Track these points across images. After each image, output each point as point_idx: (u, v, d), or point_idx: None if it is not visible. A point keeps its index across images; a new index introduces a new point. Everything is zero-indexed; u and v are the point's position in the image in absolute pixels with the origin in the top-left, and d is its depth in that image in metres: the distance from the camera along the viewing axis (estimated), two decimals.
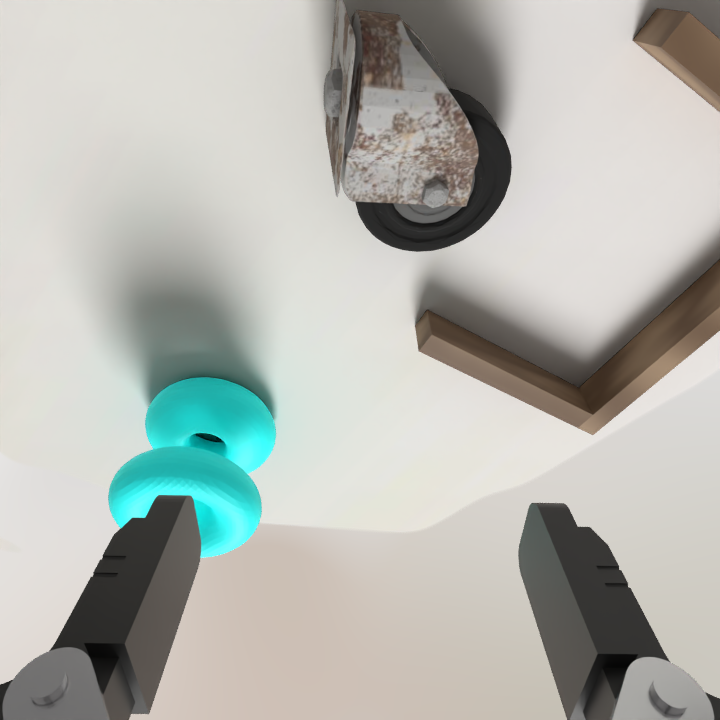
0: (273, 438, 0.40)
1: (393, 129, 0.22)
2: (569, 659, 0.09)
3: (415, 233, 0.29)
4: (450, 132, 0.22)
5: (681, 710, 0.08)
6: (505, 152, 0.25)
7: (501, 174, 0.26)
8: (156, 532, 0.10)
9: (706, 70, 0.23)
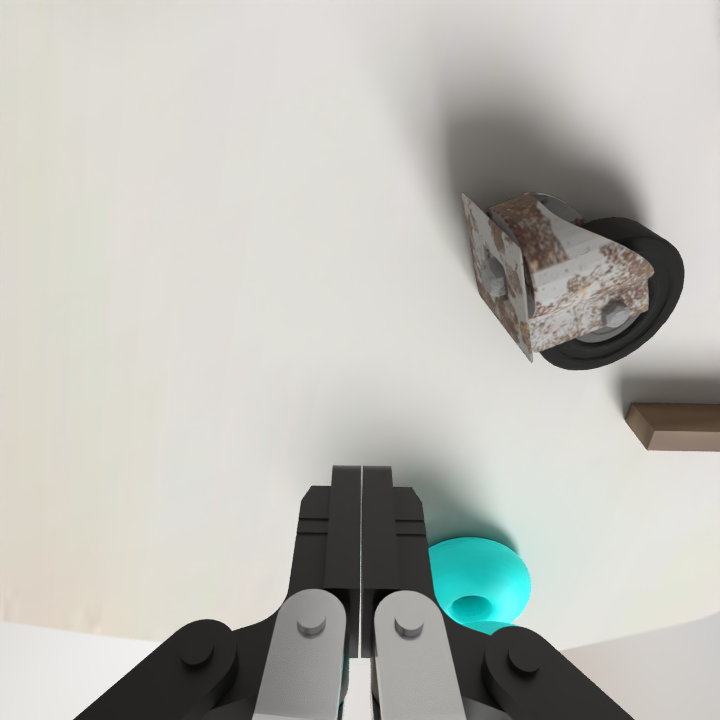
0: (528, 576, 0.39)
1: (569, 291, 0.23)
2: None
3: (602, 350, 0.28)
4: (623, 269, 0.23)
5: (413, 631, 0.08)
6: (672, 251, 0.25)
7: (674, 269, 0.26)
8: (347, 496, 0.11)
9: None
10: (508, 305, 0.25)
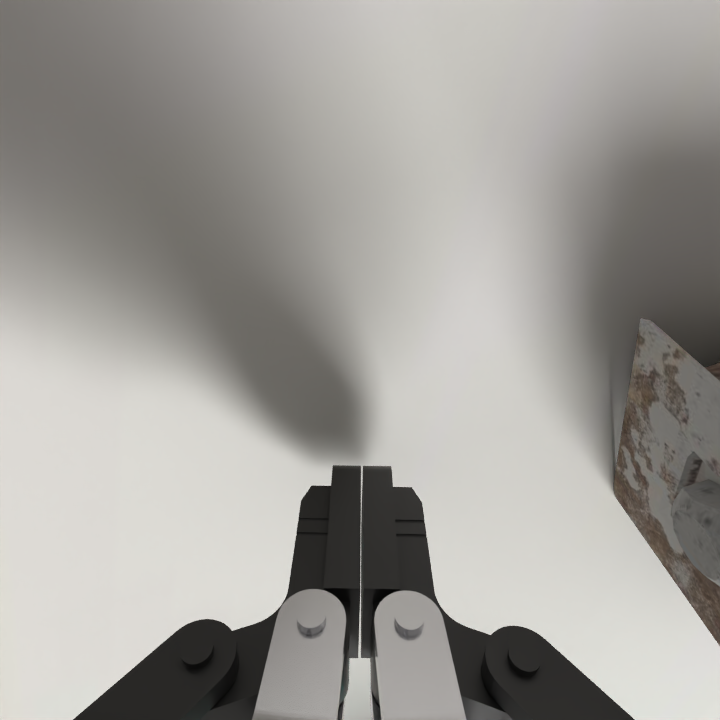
0: None
1: None
2: None
3: None
4: None
5: (412, 631, 0.08)
6: None
7: None
8: (347, 496, 0.11)
9: None
10: None
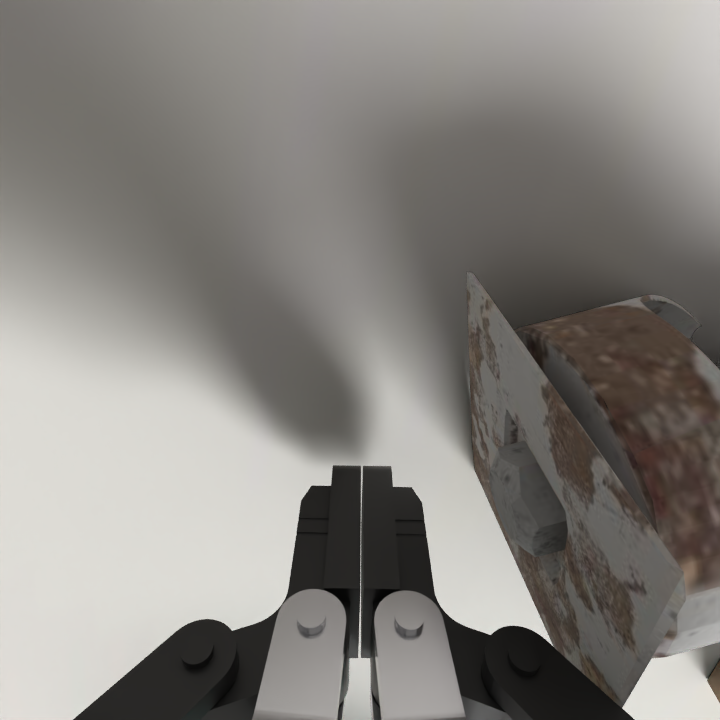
0: None
1: None
2: None
3: None
4: None
5: (412, 631, 0.08)
6: None
7: None
8: (347, 496, 0.11)
9: None
10: (551, 571, 0.10)
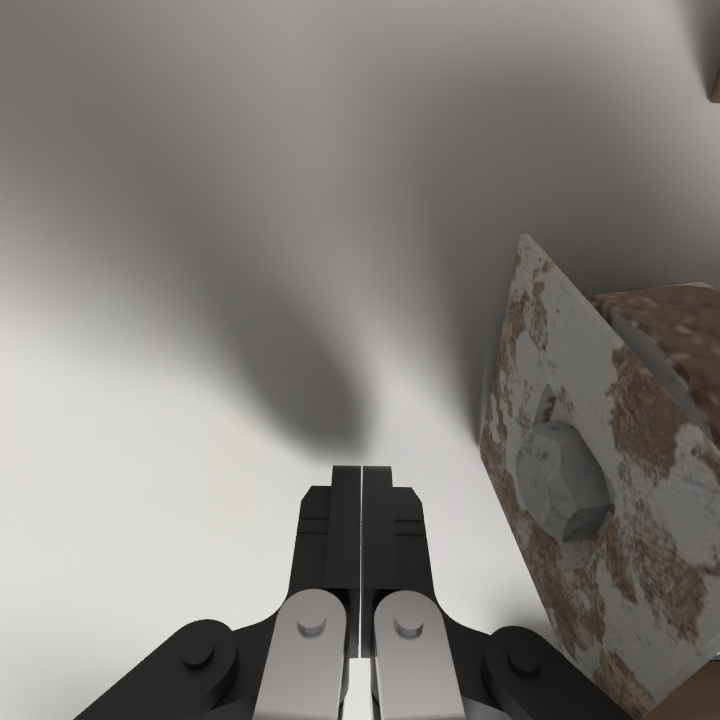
0: None
1: None
2: None
3: None
4: None
5: (412, 631, 0.08)
6: None
7: None
8: (347, 496, 0.11)
9: None
10: (572, 561, 0.09)
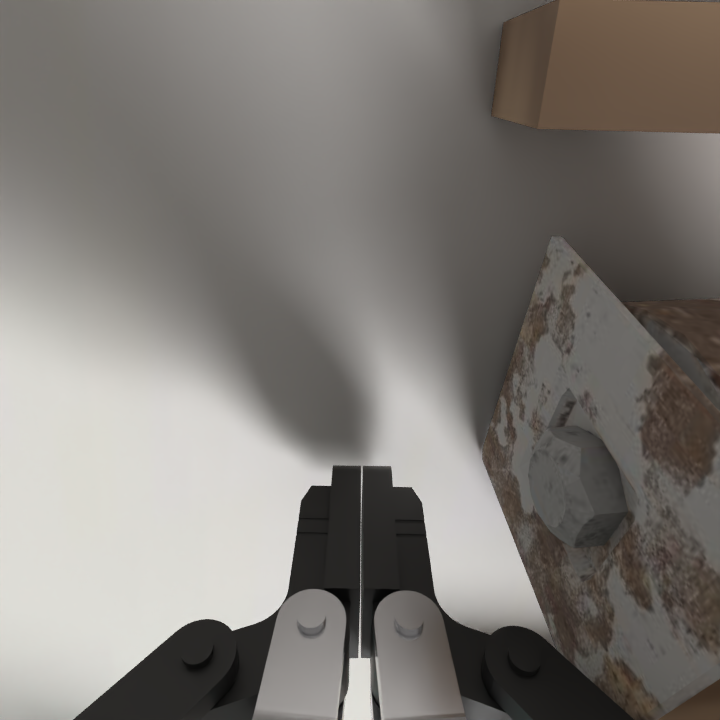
0: None
1: None
2: None
3: None
4: None
5: (412, 631, 0.08)
6: None
7: None
8: (347, 496, 0.11)
9: None
10: (579, 567, 0.09)
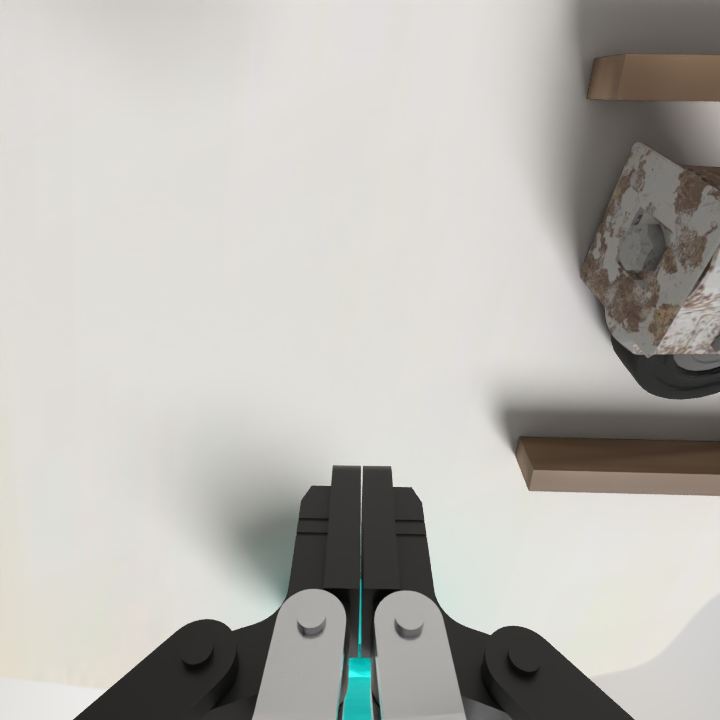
0: None
1: None
2: None
3: (685, 381, 0.25)
4: None
5: (412, 631, 0.08)
6: None
7: None
8: (347, 496, 0.11)
9: (687, 88, 0.19)
10: (642, 285, 0.21)
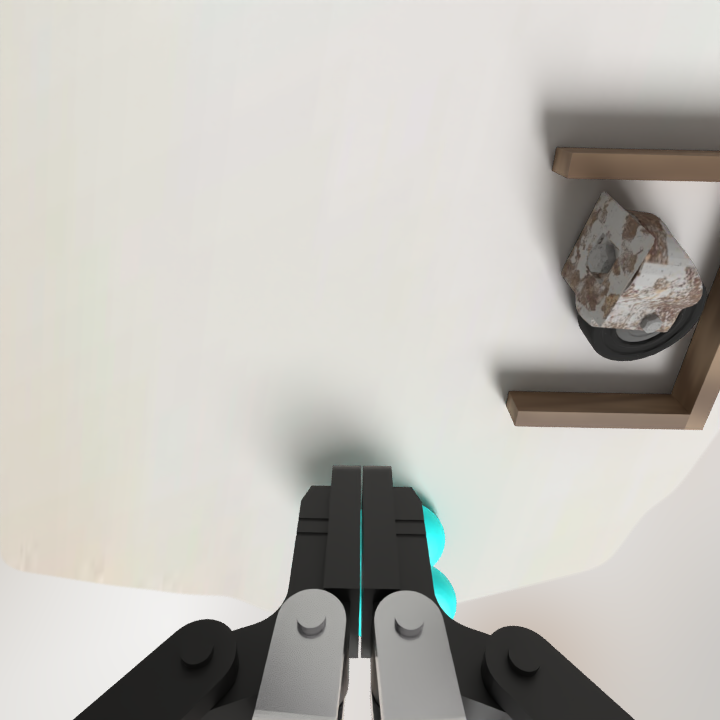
0: (441, 529, 0.49)
1: (653, 287, 0.32)
2: None
3: (623, 348, 0.39)
4: (687, 289, 0.33)
5: (412, 631, 0.08)
6: (704, 298, 0.36)
7: (696, 312, 0.37)
8: (347, 496, 0.11)
9: (608, 172, 0.32)
10: (599, 282, 0.34)
